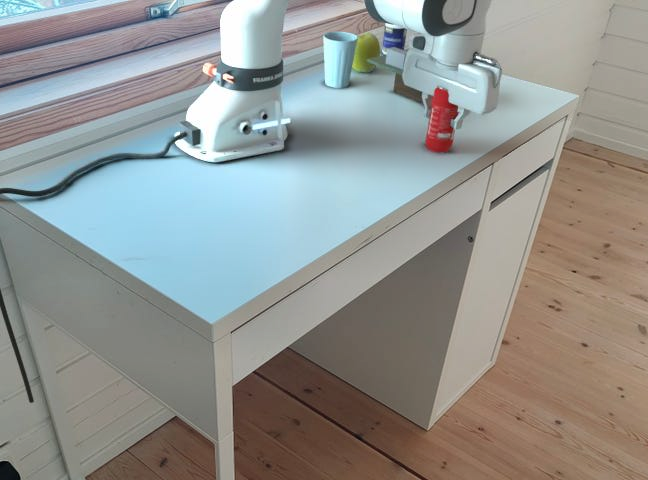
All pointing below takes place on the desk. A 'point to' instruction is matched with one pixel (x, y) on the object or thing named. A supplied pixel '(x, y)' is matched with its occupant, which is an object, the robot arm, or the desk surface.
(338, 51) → the cup
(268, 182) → the desk surface
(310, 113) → the desk surface
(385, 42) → the pill bottle
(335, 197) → the desk surface
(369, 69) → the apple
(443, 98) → the beverage can
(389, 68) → the slide lid
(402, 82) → the wooden box
